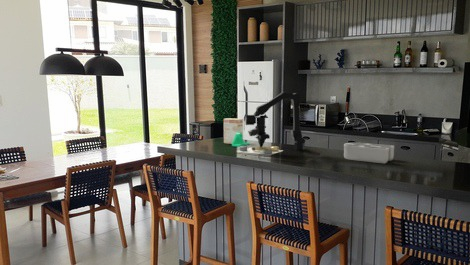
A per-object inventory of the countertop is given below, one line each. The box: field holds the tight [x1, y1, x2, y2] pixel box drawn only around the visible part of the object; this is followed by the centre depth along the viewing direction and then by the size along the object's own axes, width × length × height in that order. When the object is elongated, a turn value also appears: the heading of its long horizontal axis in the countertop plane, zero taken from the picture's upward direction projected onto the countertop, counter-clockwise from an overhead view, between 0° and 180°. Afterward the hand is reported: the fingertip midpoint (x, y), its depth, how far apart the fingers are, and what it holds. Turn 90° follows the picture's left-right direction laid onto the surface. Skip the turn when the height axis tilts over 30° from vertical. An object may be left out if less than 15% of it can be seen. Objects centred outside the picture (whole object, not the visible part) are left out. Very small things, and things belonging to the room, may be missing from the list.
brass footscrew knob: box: [251, 145, 280, 151], centre depth 271 cm, size 18×6×3 cm, turn 97°
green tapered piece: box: [231, 133, 251, 148], centre depth 301 cm, size 12×8×10 cm, turn 138°
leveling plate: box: [235, 145, 283, 158], centre depth 272 cm, size 26×19×4 cm
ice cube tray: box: [343, 142, 395, 164], centre depth 248 cm, size 17×28×9 cm, turn 53°
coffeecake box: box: [223, 117, 244, 145], centre depth 316 cm, size 15×7×20 cm, turn 46°
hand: (260, 147), depth 274 cm, fingers closed
